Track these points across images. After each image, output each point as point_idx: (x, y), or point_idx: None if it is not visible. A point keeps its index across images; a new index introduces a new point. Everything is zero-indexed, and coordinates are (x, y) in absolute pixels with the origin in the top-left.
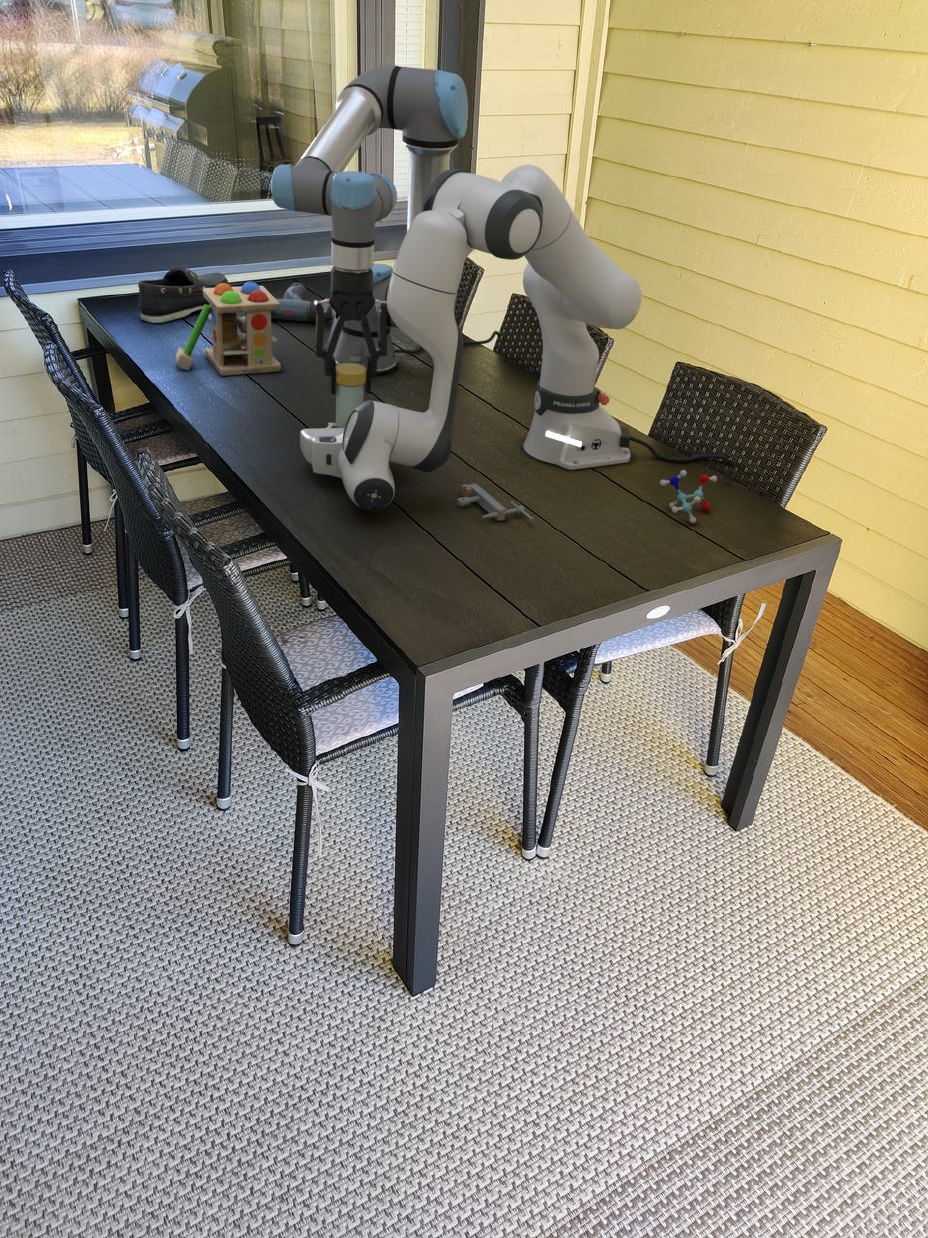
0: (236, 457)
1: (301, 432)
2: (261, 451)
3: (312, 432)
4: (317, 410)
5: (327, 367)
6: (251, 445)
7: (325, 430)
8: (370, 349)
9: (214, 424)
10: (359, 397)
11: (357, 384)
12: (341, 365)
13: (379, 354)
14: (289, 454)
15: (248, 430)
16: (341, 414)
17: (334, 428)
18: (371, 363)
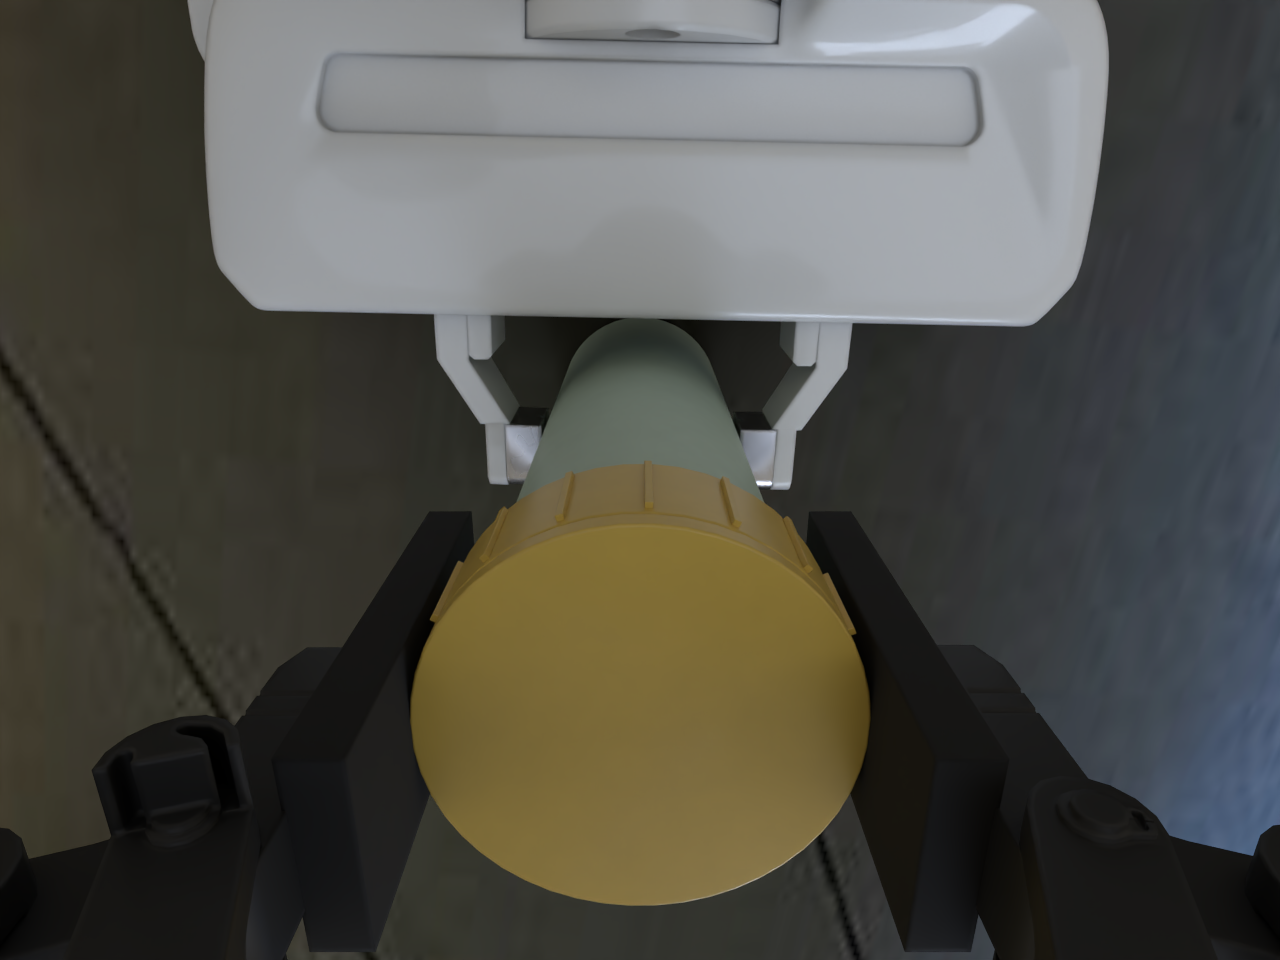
0: (1256, 438)
1: (1088, 231)
2: (1100, 498)
3: (996, 228)
4: (702, 903)
5: (1006, 716)
6: (1129, 571)
7: (878, 263)
8: (196, 953)
9: (1227, 799)
10: (560, 455)
11: (579, 474)
12: (741, 839)
13: (75, 879)
14: (962, 450)
15: (1089, 731)
16: (725, 421)
17: (796, 298)
18: (298, 722)
